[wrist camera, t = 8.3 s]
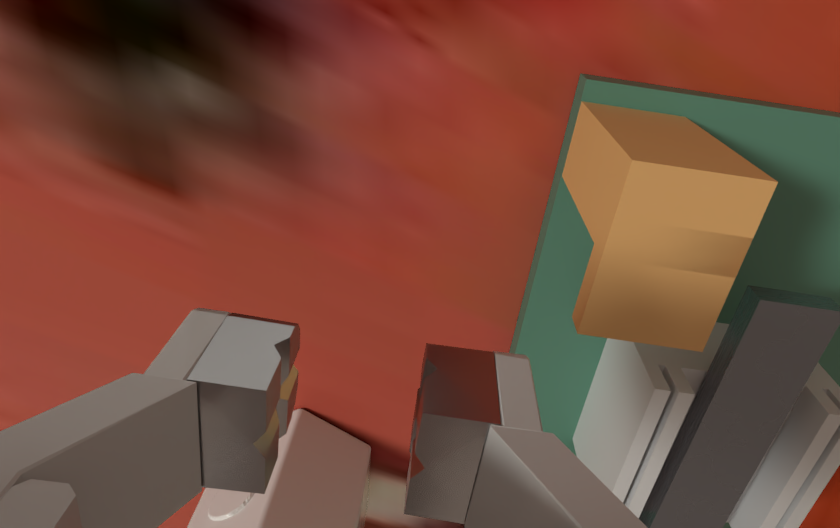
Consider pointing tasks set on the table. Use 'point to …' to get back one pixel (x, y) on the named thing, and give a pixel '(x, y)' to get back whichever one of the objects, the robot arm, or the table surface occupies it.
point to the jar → (299, 484)
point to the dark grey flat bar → (740, 406)
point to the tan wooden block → (659, 224)
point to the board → (685, 369)
